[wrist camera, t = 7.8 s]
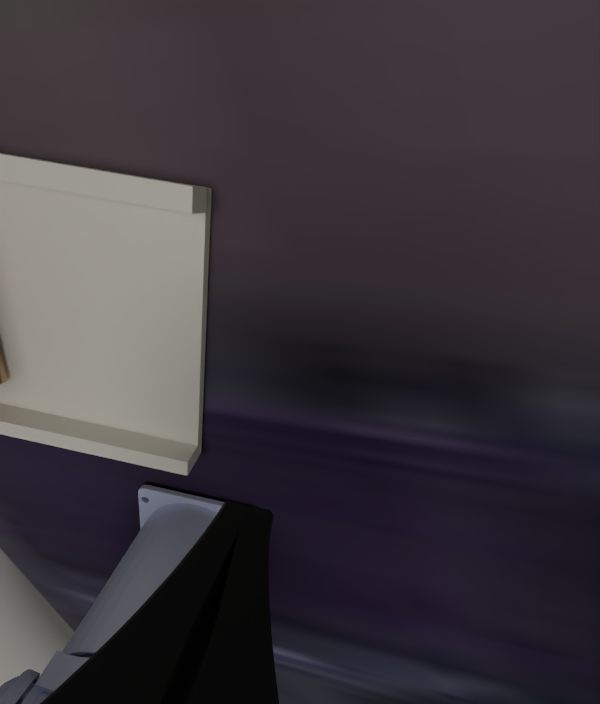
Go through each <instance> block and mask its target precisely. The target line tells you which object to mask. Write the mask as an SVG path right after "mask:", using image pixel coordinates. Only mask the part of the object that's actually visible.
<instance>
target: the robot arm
mask: <svg viewBox="0 0 600 704" xmlns="http://www.w3.org/2000/svg"><path fill="white" fill-rule="evenodd" d="M138 499H139V514H140V531H139V533H138V535H137V536H136V538H135V539H134V541H133V542H132V544H131V545H130V547H129V549H128V550H127V552H126V553H125V555H124V556H123V558H122V559H121V561H120V563H119V564H118V566H117V567H116V569H115V570H114V572H113V573H112V575H111V577H110V578H109V580H108V581H107V583H106V584H105V586H104V587H103V589H102V591H101V592H100V594H99V595H98V597H97V598H96V600H95V601H94V603H93V605H92V606H91V608H90V609H89V611H88V612H87V614H86V615H85V617H84V619H83V620H82V622H81V623H80V625H79V626H78V628H77V629H76V631H75V633H74V634H73V636H72V637H71V639H70V641H69V642H68V644H67V645H66V647H65V648H64V650H63V651H57V652H56V653H55V655H54V656H53V658H52V659H51V661H50V662H49V664H48V665H47V667H46V668H45V670H44V671H43V673H42V674H41V676H40V673H38V672H35V671H33V670H26V671H25V672H23V673H22V674H21V675H20V676H18V677H15V678H13V679H11V680H9V681H7V682H6V683H4V684H3V685H2V686H1V687H0V704H279V699H278V691H277V683H276V675H275V666H274V657H273V647H272V635H271V623H270V607H269V579H268V559H269V539H270V532H271V526H272V520H273V513H272V512H271V511H270V510H266V509H262V508H257V507H253V506H248V505H244V504H239V503H235V502H231V501H227V502H221V501H217V500H213V499H208V498H204V497H199V496H195V495H190V494H186V493H182V492H177V491H173V490H168V489H164V488H159V487H155V486H151V485H142V486H141V488H140V489H139V490H138Z"/></svg>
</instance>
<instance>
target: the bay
mask: <svg viewBox="0 0 600 704" xmlns="http://www.w3.org/2000/svg"><path fill="white" fill-rule="evenodd" d="M211 192H212V188H207V187H201V186H195V185H189V184H183V183H177V182H171V181H165V180H160V179H154V178H148V177H142V176H136V175H130V174H124V173H118V172H112V171H106V170H100V169H94V168H88V167H82V166H76V165H70V164H64V163H58V162H52V161H46V160H41V159H35V158H29V157H23V156H17V155H11V154H5V153H0V352H1V356H2V360H3V364H4V369H5V373H6V377H7V381H6V382H4V383H2V384H0V434H2V435H7V436H11V437H16V438H20V439H25V440H29V441H34V442H38V443H43V444H47V445H52V446H56V447H61V448H65V449H69V450H74V451H78V452H83V453H87V454H92V455H96V456H101V457H105V458H110V459H114V460H119V461H123V462H128V463H132V464H137V465H141V466H146V467H150V468H155V469H159V470H164V471H168V472H173V473H177V474H182V475H186V476H188V474H189V472H190V471H191V469H192V467H193V466H194V464H195V462H196V460H197V459H198V457H199V455H200V454H201V447H202V421H203V396H204V370H205V345H206V320H207V294H208V269H209V243H210V218H211Z"/></svg>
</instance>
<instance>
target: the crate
mask: <svg viewBox="0 0 600 704" xmlns="http://www.w3.org/2000/svg"><path fill="white" fill-rule="evenodd" d="M6 381H7V377H6V373H5V369H4V364H3V360H2V356H1V352H0V384H2V383H4V382H6Z"/></svg>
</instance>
